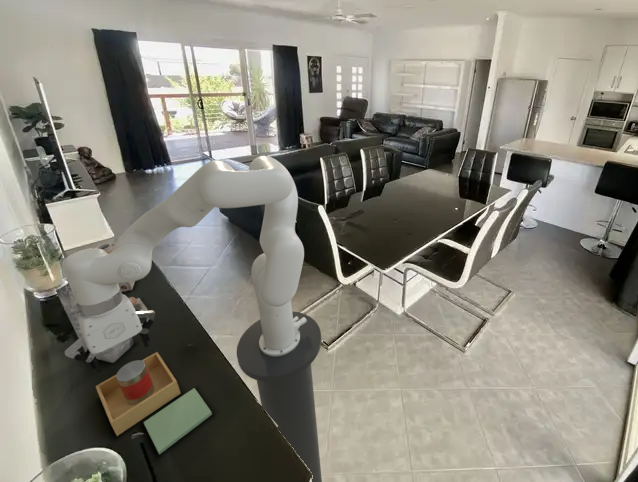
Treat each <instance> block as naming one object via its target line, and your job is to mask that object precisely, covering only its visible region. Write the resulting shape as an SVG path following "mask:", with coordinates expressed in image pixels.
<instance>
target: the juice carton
mask: <svg viewBox="0 0 638 482" xmlns="http://www.w3.org/2000/svg"><path fill="white" fill-rule="evenodd" d="M55 292H56V295H57V296H58V299H59V300H60V303H61V305H62V307H63V309H64V311H65V313H66V315H67V318H68V319H69V322H70V323H71V326H72V328H73V331H74V332H75V334H76V336H77V338H78V339H79V338H80V337H81V336H82V333H81V329H80V325H79V319H78V313H79V312H76V313H73V314H72V313H71V311H70V309H69V308H72V307H74V306H75V305H76V303H77V301H76V299H75V297H74V294H73V292H72V290H71V288H70V285H69V283H68V282H67V283H66V284H65V285H63V286H61V287H59V288H58V289H56V290H55ZM133 346H134V340H133V337H131V338H129V339H127V340H125V341H123V342H121V343H119V344H117V345H115V346H113V347H111V348H109V349H107V350H105V351H102V352H100V353H97V354H96V355H95V356H96V358H97V360H99V361H104V362H107V363H115V362H117V360H118V359H120V358H121V357H122V356H123V355H124V354H125V353H126V352H128V351H129V349H131V348H132V347H133ZM82 348H83V350H84V352H85V351H86V349H87V346H86V343H85V344H84V345H83V346H82Z"/></svg>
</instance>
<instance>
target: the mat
mask: <svg viewBox="0 0 638 482" xmlns="http://www.w3.org/2000/svg"><path fill="white" fill-rule="evenodd" d="M211 416H213V413H212V411H211V409H210V408H209V406H208V405H207V403H206V402H205V401H204V399H203V398H202V396H201V395H200V394H199V392H198V391H197V390H196V388H195V387H194V388H192V389H191V390H189V391H187V392H186V393H184V394H183V395H182V396H180V397H179V398H177V399H176V400H174V401H173V402H171V403H170V404H168V405H167V406H165V407H164V408H162V409H161V410H160V411H158V412H156V413H155V414H153V415H152V416H150V417H149V418H148V419H146V420H145V421H143V425H144V427H145V429H146V431H147V433H148V435H149V437H150V439H151V441H152V443H153V445H154V447H155V449H156V451H157V453H158V455H161V454H162V453H163V452H166V450H168V449H169V448H170V447H171V446H173V445H174V444H176V443H177V442H178V441H179V440H180V439H182V438H184V436H186V435H187V434H189V433H190V432H192V431H193V430H194V429H195V428H196V427H198V426H199V425H200V424H202V423H203V422H205V420H207V419H208V418H210V417H211Z"/></svg>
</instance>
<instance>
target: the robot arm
mask: <svg viewBox="0 0 638 482" xmlns="http://www.w3.org/2000/svg"><path fill="white" fill-rule="evenodd" d="M248 167H249V168H248V170H235V169H234V168H233V167H232V166H231V165H230V164H228V163H226V162H225V161H222V160H217V159H216V160H210V161H207V162H206V163H205V164H203V165H202V166H201V167H199V168H198V170H196V171H195V172H194V173H193V174H191V176H190V177H189V178H188V179H186V181H184V182H183V183H182V184H180V186H179V187H178V188H177V189H176V190H174V191H173V192H172V193H171V194H170V195H169V196H168V197H167V198H166V199H164V201H162V202H160V203H159V204H157V205H155V206H154V207H152V208H150V209H149V210H147V211H146V212H145V213H144V214H142V215H141V216H140V217H138V218H137V219H136V220H135V221H134V222H133V223H132V224H130V226H129V227H128V228H126V229H125V230H124V231H123V233H121V234H120V235H119V236H118V238H117V240H116V241H115V243H114V244H115V245H114V248H113V251H112V253H110V254H107V253H106V252H105V251H104V250H102V249H99V248H96V247H91V248H85V249H81V250H78V251H76V252H73V253H71V254H69V255H68V256H66V257H65V258H64V259H63V261H62V264H61V268H62V272H63V274H64V276H65V278H66V280H67V284H68V283H69V285H70V288H71V290H72V292H73V294H74V297H75V299H76V301H77V303H76V305H75V306H74V307H72V308H69V309H70V311H71V313H72V314H73V313H76V312H79V313H78V319H79V325H80V329H81V333H82V336H81V337H80V338H78V339H77V340H75V341H74V342H73V343H71V345H69V346H68V348H66V349H65V350H64V355H65V357H67V358H70V359H73V360H75V361H80V362H86V363H89V366H90V369H91V370H92V371H94V370H95V369H96V371H97V373H98V374H99V373H101V372H102V370H103V369H102V367H101V365H100V363H99V361H98V360H99V359H97V358H96V356H95V355H96V354H97V353H100V352H102V351H105V350H107V349H109V348H111V347H113V346H115V345H117V344H119V343H121V342H123V341H125V340H127V339H129V338H131V337H132V338H133V337H135V336H137V335H139V337H140V341H141V343H142V344H143V346H144V348H148V347H150V345H149V342H150V341H151V338H150V336H149V332H150V328H151V327H152V325H153V324H154V320H155V317H156V311H154V310H153V309H151V310H150V309H148V311H138V312H136V311H135V308H134V306H133V305H132V303H131V301H130V300H129V299H128V298H129V297H128V296H127V295H125V294H123V292H121V290H120V287H119V284H118V283H125V282H133V281H135V282H136V281H140V280H142V279H144V278H145V277H147V275H148V274H149V273H150V272H151V269H152V264H153V263H152V262H153V250H154V248H155V247H156V246H157V245H159V244H160V242H161V241H162V240H163V239H164V238H166V237H167V236H168V235H169V234H170V233H171V232H173V231H176V230H177V229H179V228H193V227H196V226H197V225H198V224H199V223H200V222H201V221H202V220H203V219H204V218H205V217H206V216H207V215H208V214H209V213H210V212H212V211H213V209H214V208H218V209H236V208H245V207H246V208H247V207H254V206H255V207H256V206H261V205H264V213H263V217H262V218H263V219H262V224H261V230H260V234H259V235H260V236H259V244H260V247H261V250H262V252H263V253H261V254H259V255H258V256H257V257H256V258H255V259H254V261H253V263H252V265H251V270H250V271H251V278H252V282H253V286H254V287H253V288H254V292H255V296H256V302H257V308H258V314H259V320H261V326H262V332H263V334H262V335H261V337H260V340H259V346H260V349H261V351H262V352H263V353H264V354H266V355H268V356H272V357H277V356H282V355H285V354H287V353H289V352H291V351H292V350H293V349H295V347H296V346H297V345H298V343H299V341H300V332H299V330H298V329H299V328H300V326H301V325H303V324H305V323H306V322H307V320H306V318H305V317H303V318H302V319H300V320H299V318H298V317H297V316H296V317H295V318H293V314H292V311H293V307H292V299H293V298H294V297H295V295H296V293H297V290H298V287H299V283H300V279H301V274H302V269H303V265H304V260H305V259H304V258H305V248H304V245H303V242H302V241H301V239H300V237H299V236H298V234H297V233H296V221H297V216H298V208H299V195H298V190H297V186H296V183H295V180H294V179H293V176H292V175H291V173H290V171H288V169H287V168H286V166H284V165H283V164H282V163H281V161H279V160H277V159H275V158H274V157H272V156H269V155H260V156H257V157H255V158H254V159H253V160H252V161H251V162H250V164H249V166H248ZM144 318H145V320H144V322H143V323H141V319H144ZM297 320H299V321H298V322H296V321H297ZM85 343H86V346H87V349H86V351H85V350H84V351H78V350H79V349H81V348H83V345H84V344H85Z"/></svg>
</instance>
